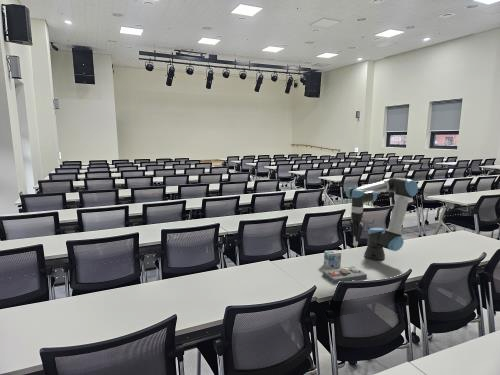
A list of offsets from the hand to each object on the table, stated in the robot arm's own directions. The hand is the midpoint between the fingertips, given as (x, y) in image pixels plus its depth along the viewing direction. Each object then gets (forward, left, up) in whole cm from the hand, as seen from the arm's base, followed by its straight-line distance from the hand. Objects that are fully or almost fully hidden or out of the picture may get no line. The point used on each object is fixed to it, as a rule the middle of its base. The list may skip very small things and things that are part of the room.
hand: (355, 245), depth 225 cm
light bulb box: (+8, -14, -20) cm, 26 cm away
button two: (+11, +5, -17) cm, 20 cm away
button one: (+2, +5, -19) cm, 19 cm away
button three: (+19, +5, -19) cm, 27 cm away
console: (+11, +5, -20) cm, 23 cm away
